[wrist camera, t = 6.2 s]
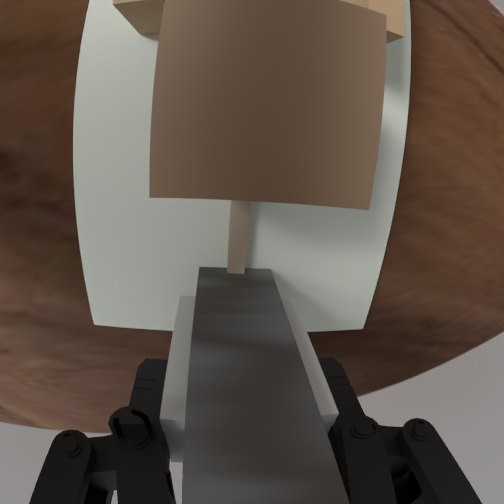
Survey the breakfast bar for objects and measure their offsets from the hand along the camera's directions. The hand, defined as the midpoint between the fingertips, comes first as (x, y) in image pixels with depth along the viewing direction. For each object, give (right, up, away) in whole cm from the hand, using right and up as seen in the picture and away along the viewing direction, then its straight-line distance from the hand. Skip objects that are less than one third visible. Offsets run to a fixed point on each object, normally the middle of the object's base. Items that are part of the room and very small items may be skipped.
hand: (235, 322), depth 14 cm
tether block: (0, +5, 0) cm, 5 cm away
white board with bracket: (0, +9, -1) cm, 9 cm away
